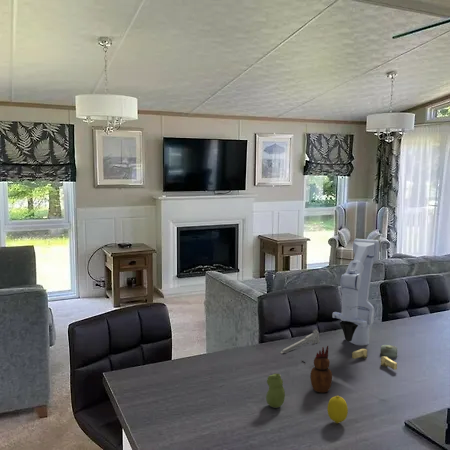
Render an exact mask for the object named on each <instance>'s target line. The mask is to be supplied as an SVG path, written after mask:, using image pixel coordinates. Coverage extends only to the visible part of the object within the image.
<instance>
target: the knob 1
mask: <svg viewBox="0 0 450 450" xmlns="http://www.w3.org/2000/svg"><path fill="white" fill-rule="evenodd" d="M351 358H352V359H359V358H361V359H365V360H366V359H367V358H368V348H367V349H366V348H363V347H362V348H360V349H358V350H354V351H352V352H351Z"/></svg>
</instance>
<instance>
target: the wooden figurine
mask: <svg viewBox="0 0 450 450" xmlns="http://www.w3.org/2000/svg"><path fill="white" fill-rule="evenodd" d="M313 359H314V360H313V366H314V367H312V368H311V371H310V383H311V384H310V385H311V387H312V390H314V391H315V392H317V393H322V394H323V393H328V391H330V389H331V386H332V381H333V373H332V371H331V369H330V368H329V367H330V364H331V363H330V358H329V345H327V346H326V349H325V348H324V346H323V347H322V349H321V350H319V351H318V352H316V355H315V357H314V358H313Z"/></svg>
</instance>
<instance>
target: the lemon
mask: <svg viewBox="0 0 450 450" xmlns="http://www.w3.org/2000/svg"><path fill="white" fill-rule="evenodd" d="M348 409H349V408H348V404H347V402H346V400H345V399H344V398H343V397H342V396H339V395H335V396H332V397H331V398H330V399H328V402H327V415H328V417H329V419H330V420H332V422H334V423H336V424H339V423H342V422H344V421H345V420H346V419H347V417H348V412H349V410H348Z"/></svg>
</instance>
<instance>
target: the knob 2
mask: <svg viewBox="0 0 450 450" xmlns="http://www.w3.org/2000/svg"><path fill="white" fill-rule="evenodd" d="M380 366H381V367H383V368H388V367H389V368H390V369H392V370H394V371H396V370H398V363H397V362H396V361H394V360H392V358H388V357H386V356H382V355H381V357H380Z"/></svg>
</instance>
